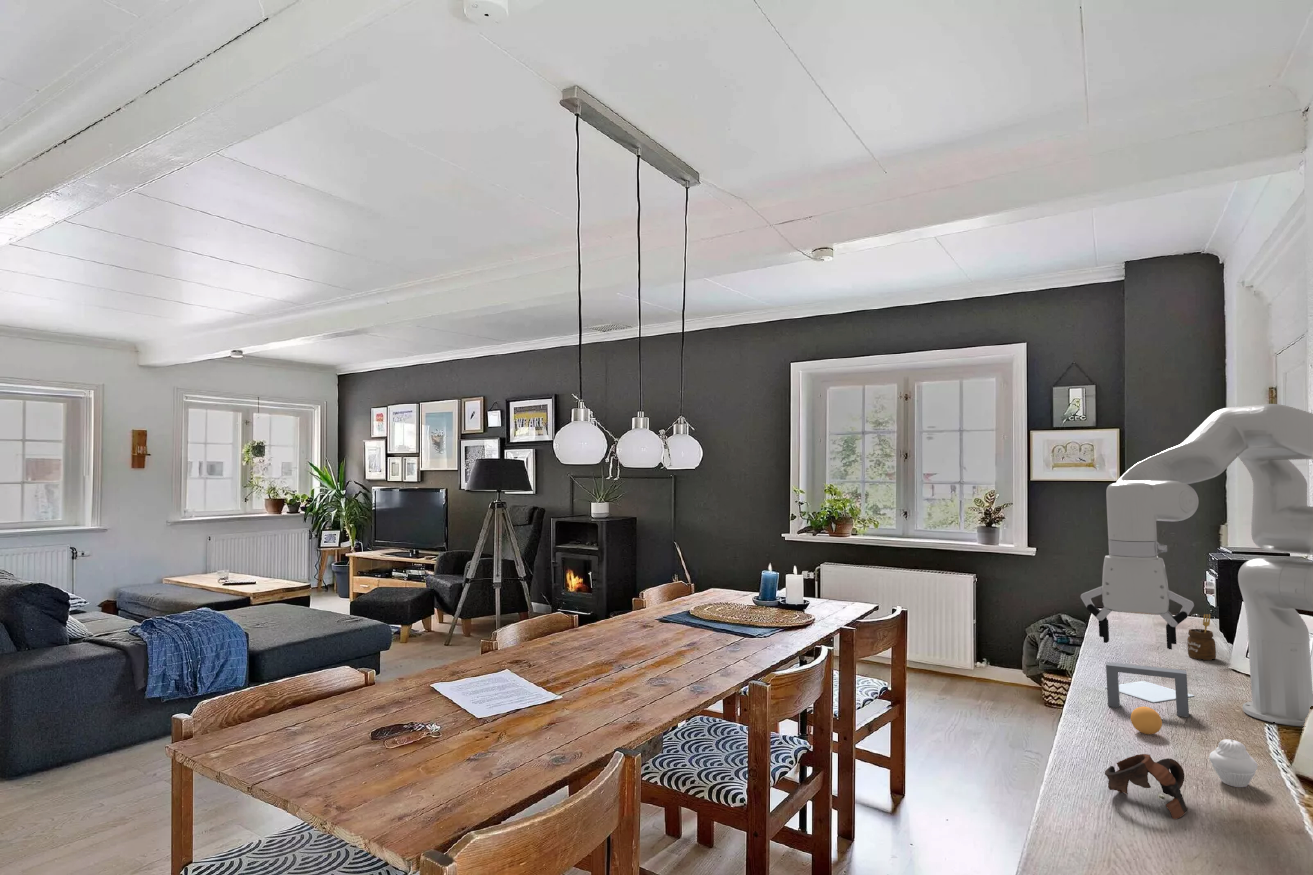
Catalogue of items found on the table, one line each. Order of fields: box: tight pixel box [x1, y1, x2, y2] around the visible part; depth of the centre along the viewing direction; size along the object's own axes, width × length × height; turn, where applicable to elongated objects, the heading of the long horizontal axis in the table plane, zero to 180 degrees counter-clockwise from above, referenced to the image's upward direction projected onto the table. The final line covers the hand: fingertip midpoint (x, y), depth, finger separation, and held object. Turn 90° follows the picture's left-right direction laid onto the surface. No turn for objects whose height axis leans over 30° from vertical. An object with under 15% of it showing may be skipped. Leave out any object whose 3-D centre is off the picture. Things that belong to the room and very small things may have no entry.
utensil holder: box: [1186, 613, 1217, 661], centre depth 191 cm, size 6×6×12 cm
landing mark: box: [1104, 680, 1195, 704], centre depth 165 cm, size 12×12×1 cm
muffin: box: [1208, 738, 1258, 788], centre depth 118 cm, size 6×6×7 cm
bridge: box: [1105, 661, 1190, 718], centre depth 153 cm, size 3×14×9 cm, turn 56°
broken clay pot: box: [1104, 753, 1188, 820], centre depth 113 cm, size 12×10×8 cm
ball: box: [1130, 706, 1163, 735], centre depth 140 cm, size 5×5×5 cm
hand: (1137, 644), depth 133 cm, fingers open, 9 cm apart
